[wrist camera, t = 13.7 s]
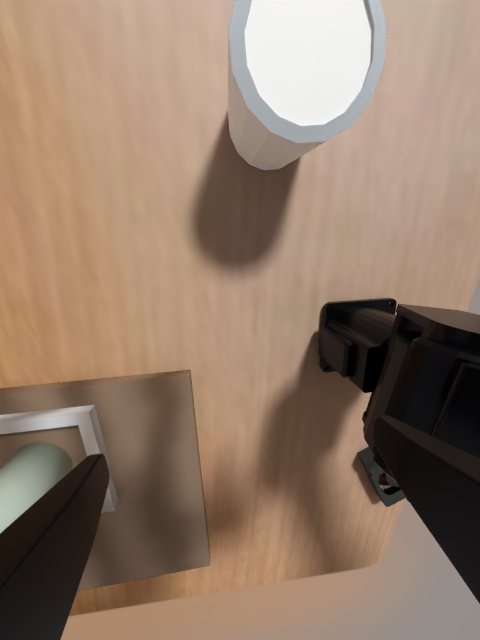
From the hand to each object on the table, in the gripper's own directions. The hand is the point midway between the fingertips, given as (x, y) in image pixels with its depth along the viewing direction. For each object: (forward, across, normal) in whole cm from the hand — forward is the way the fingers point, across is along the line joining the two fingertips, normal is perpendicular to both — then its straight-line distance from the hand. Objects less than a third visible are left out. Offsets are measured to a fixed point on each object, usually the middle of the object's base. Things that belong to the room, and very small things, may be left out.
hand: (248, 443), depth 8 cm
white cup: (+13, -4, -14) cm, 20 cm away
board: (+13, +13, +16) cm, 24 cm away
